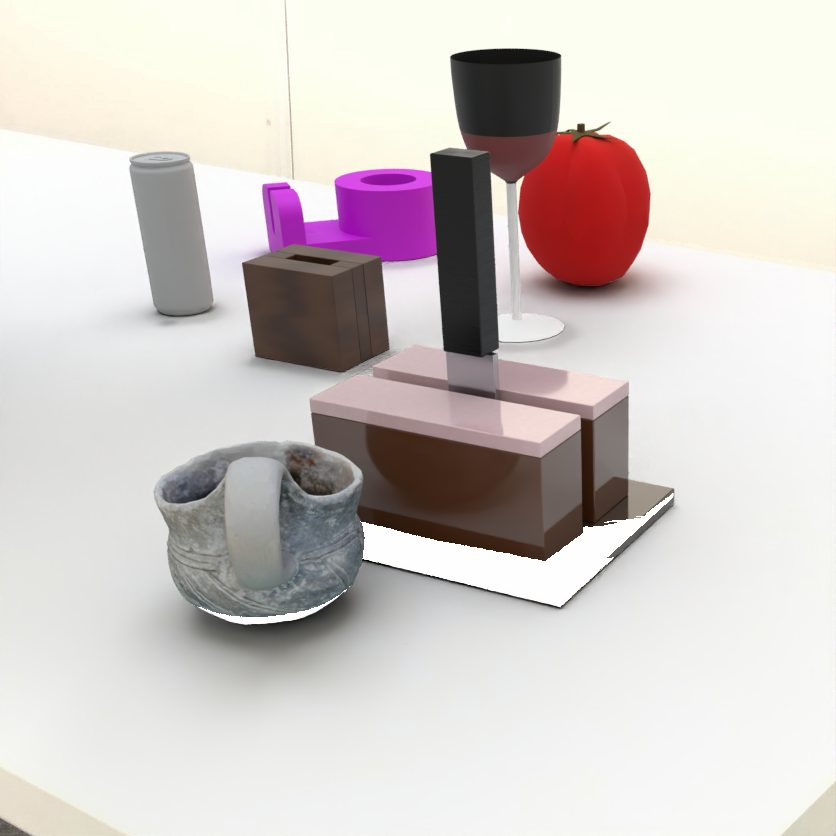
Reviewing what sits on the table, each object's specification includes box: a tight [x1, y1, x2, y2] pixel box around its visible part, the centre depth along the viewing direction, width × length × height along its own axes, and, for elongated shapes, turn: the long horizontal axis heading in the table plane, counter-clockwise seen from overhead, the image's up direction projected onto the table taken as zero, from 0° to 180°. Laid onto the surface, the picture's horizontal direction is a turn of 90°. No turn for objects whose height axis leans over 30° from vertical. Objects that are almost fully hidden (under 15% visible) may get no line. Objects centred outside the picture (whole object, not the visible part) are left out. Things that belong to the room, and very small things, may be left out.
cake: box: [308, 344, 675, 561], centre depth 74 cm, size 18×14×8 cm
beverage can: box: [128, 150, 215, 317], centre depth 107 cm, size 5×5×12 cm
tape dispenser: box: [261, 168, 437, 262], centre depth 125 cm, size 16×10×6 cm, turn 114°
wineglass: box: [449, 47, 565, 343], centre depth 101 cm, size 8×9×20 cm
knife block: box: [241, 244, 390, 373], centre depth 99 cm, size 8×6×7 cm
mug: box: [153, 439, 365, 617], centre depth 63 cm, size 10×12×10 cm
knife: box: [429, 147, 500, 400], centre depth 70 cm, size 3×2×19 cm, turn 65°
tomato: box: [517, 121, 651, 287], centre depth 114 cm, size 12×12×13 cm
